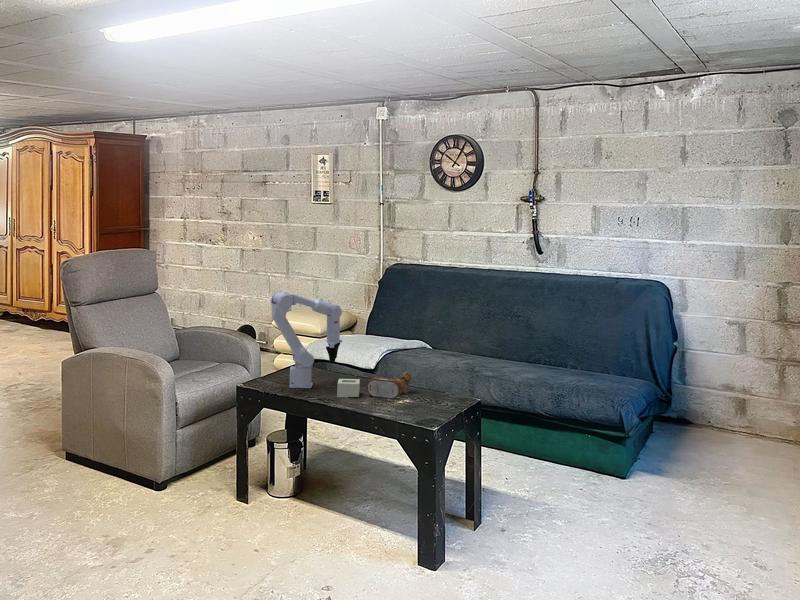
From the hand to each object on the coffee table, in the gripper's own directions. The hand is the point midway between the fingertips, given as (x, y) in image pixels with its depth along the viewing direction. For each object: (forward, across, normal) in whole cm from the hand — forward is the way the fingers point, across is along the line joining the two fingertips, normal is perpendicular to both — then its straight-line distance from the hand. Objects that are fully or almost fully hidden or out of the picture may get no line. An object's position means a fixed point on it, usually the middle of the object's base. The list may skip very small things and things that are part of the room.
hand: (333, 360), depth 319 cm
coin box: (+10, -20, -8) cm, 24 cm away
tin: (+11, -23, -23) cm, 34 cm away
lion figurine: (+11, -15, -29) cm, 35 cm away
